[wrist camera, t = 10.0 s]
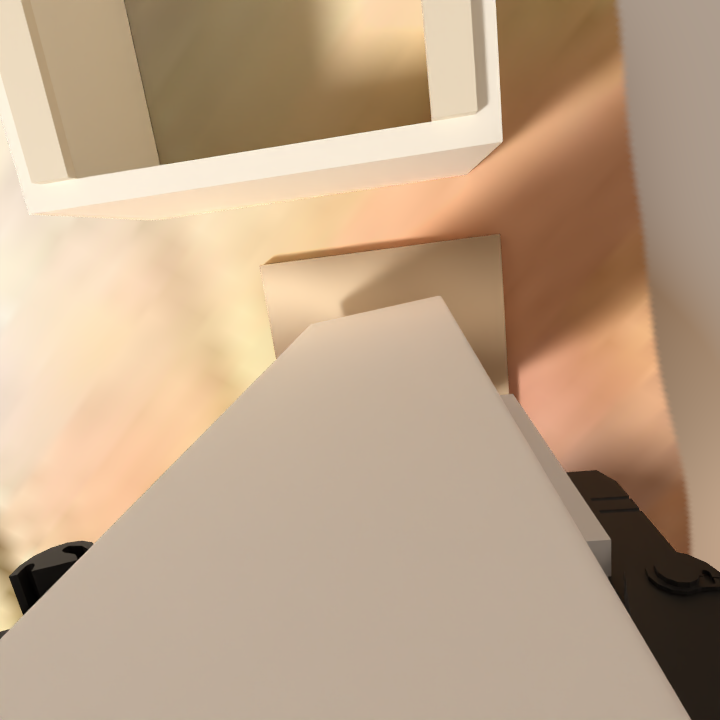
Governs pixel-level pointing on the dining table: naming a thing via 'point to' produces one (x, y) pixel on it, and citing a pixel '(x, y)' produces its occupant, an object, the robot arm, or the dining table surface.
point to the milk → (343, 561)
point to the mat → (397, 291)
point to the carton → (226, 172)
